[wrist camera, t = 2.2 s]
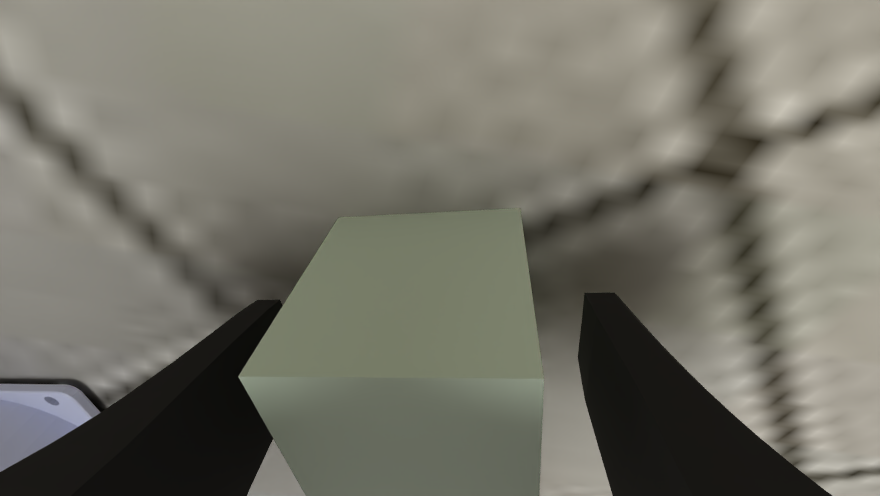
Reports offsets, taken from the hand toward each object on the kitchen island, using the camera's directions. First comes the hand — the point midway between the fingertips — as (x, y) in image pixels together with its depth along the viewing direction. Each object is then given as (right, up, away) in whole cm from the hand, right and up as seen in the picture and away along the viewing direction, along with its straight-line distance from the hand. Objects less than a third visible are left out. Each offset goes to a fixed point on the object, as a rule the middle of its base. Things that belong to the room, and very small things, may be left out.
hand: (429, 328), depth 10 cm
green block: (0, +1, +1) cm, 2 cm away
